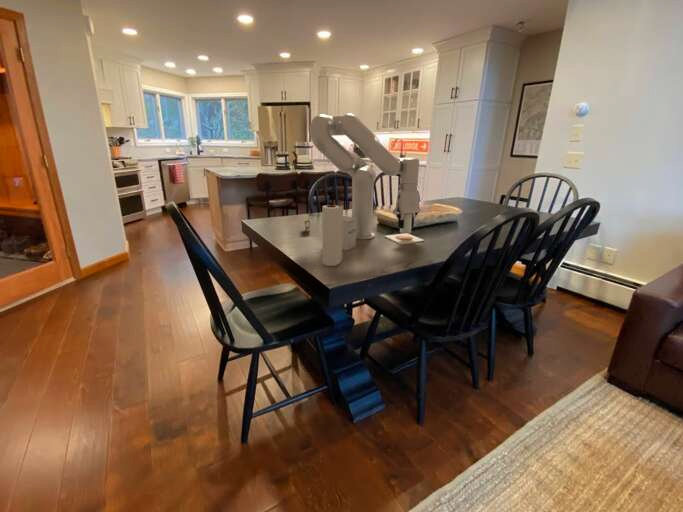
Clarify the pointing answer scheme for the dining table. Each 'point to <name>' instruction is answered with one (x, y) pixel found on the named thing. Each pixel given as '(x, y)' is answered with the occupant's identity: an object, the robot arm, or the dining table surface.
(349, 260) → the dining table surface
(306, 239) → the dining table surface
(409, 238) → the card
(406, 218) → the tube
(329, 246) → the paper towel roll
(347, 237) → the white bottle
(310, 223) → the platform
